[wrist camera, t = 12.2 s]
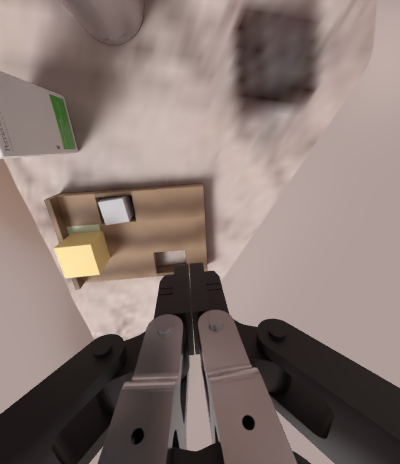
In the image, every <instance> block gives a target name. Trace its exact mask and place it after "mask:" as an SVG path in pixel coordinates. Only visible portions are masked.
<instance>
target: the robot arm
mask: <svg viewBox="0 0 400 464" xmlns="http://www.w3.org/2000/svg"><path fill="white" fill-rule="evenodd" d="M60 1H61V2H62V3H63V4H64V5H65V7H66V8H67V9H68V10H69V11H70V12H71V13H72V15H73V16H74V17H75V18H76V19H77V20H78V21H79V23H80V24H81V25H82V26H83V27H84V28H85V29H86V30H87V32H88V33H90V34H91V35H92V36H93V37H94V38H96V39H97V40H99V41H101V42H103V43H106V44H110V45H119V44H123V43H125V42H127V41H129V40H130V39H132V38H133V37H134V36H135V34H136V33H137V32H138V30H139V28H140V26H141V23H142V20H143V15H144V0H60ZM189 266H190V277H189ZM189 266H188V264H177V265H174V274H171V275H165V276H164V277H163V278H162V280H161V281H160V285H159V291H158V297H157V303H156V309H155V316H154V319H153V320H152V321H151V322H150V323H149V325H148V326H147V329H146V331H145V332H144V333H142V334H141V335H139V336H137V337H134V338H131V339H129V340H126V341H123V339H122V338H121V337H120V336H119V335H116V334H108V335H104V336H101V337H99V338H97V339H95V340H94V341H92V342H91V343H90V344H89V345H87V346H86V347H85V348H83V349H82V350H81V351H80V352H78V353H77V354H76V355H75V356H73V357H72V358H71V359H70V360H68V361H67V362H66V363H64V364H63V365H62V366H61V367H60V368H58V369H57V370H56V371H54V373H52V374H51V375H49V376H48V377H47V378H46V379H44V380H43V381H42V382H40V383H39V384H38V385H37V386H36V387H34V388H33V389H32V390H30V391H29V392H28V393H27V394H26V395H24V396H23V397H22V398H20V399H19V400H18V401H16V402H15V403H14V404H13V405H11V406H10V407H9V408H8V409H6V410H5V411H4V412H3V413H1V414H0V464H89V463H90V461H91V460H92V459H93V458H94V456H95V455H96V454H97V453H98V452H99V450H100V449H101V448H102V447H103V449H102V452H101V455H100V458H99V461H98V464H311V463H310V462H308V461H307V460H306V459H304V458H303V457H302V456H300V455H299V454H297V453H295V452H293V451H292V449H291V447H290V445H289V442H288V440H287V437H286V435H285V432H284V430H283V427H282V425H281V423H280V420H279V418H278V415H277V413H276V411H277V412H279V413H280V414H281V415H282V416H283V417H284V418H285V419H286V420H287V421H289V422H290V423H291V424H292V425H293V426H294V427H295V428H296V429H297V430H298V431H300V432H301V433H302V434H303V435H304V436H305V437H306V438H307V439H308V440H310V441H311V442H312V443H313V444H314V445H315V446H316V447H317V448H318V449H319V450H321V451H322V452H323V453H324V454H325V455H326V456H327V457H328V458H329V459H330V460H332V461H333V462H334V463H335V464H400V388H398V387H397V386H395V385H393V384H392V383H390V382H388V381H386V380H385V379H383V378H381V377H379V376H378V375H376V374H374V373H372V372H371V371H369V370H367V369H366V368H364V367H362V366H360V365H359V364H357V363H355V362H354V361H352V360H350V359H348V358H347V357H345V356H343V355H341V354H340V353H338V352H336V351H335V350H333V349H331V348H330V347H328V346H326V345H324V344H322V343H321V342H319V341H317V340H316V339H314V338H312V337H310V336H309V335H307V334H305V333H304V332H302V331H300V330H298V329H297V328H295V327H293V326H292V325H290V324H288V323H286V322H284V321H282V320H278V319H267V320H264V321H262V322H261V323H260V324H259V325H258V327H254V326H248V325H243V324H241V323H239V322H237V321H235V320H234V319H233V318H232V316H231V315H230V314H229V312H228V308H227V304H226V301H225V297H224V293H223V290H222V285H221V281H220V278H219V276H218V275H217V274H216V273H215V272H214V271H205V272H204V266H203V262H199V263H189ZM190 286H191V288H190ZM192 319H193V322H192ZM193 330H194V341H195V351H196V354H200V357H201V368H202V377H203V384H204V390H205V397H206V403H207V410H208V416H209V422H210V429H211V437H212V445H210V446H208V447H206V448H204V449H202V450H199V451H189V450H187V447H186V422H187V421H186V420H187V402H188V382H189V355H194V341H193Z"/></svg>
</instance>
